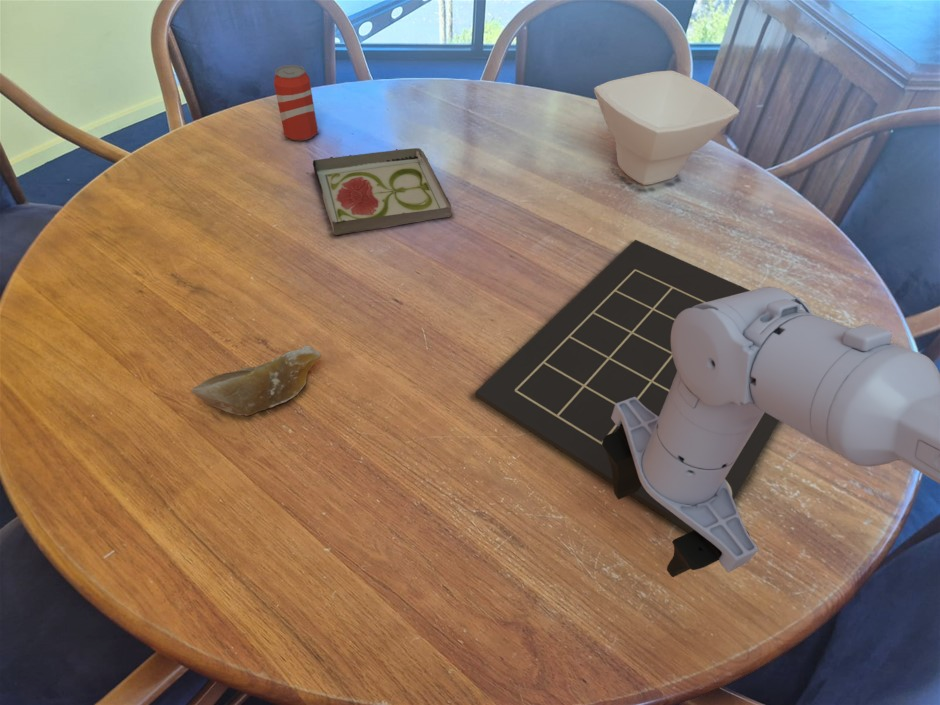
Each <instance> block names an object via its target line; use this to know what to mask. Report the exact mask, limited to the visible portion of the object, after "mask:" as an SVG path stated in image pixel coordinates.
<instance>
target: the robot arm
mask: <svg viewBox="0 0 940 705" xmlns="http://www.w3.org/2000/svg"><path fill="white" fill-rule="evenodd" d="M892 335H893V333H892V331H891V330H889V329H886V328H883V327H880V326H878V325H875V324H873V323H872V324H871V323H866V324H862V325H859V326H856V327H852V328H851V327H849V326H846V325H843V324H841V323H838V322H835V321H832V320H829V319H826V318H824V317H821V316H818V315H816V314H813V312H812V311H811V309H810V308H809V306H808V304H806V303H805V302H804V301H803V300H802V299H801V298H799V297H798V296H796V295H795V294H792V293H790V292H788V291H787V290H784V289H782V288H780V287H776V286H763V287H760V288H756V289H752V290H750V291H748V292H744V293H740V294H736V295H732V296H728V297H725V298H721V299H717V300H713V301H709V302H705V303H702V304H698V305H695V306H693V307H692V308H688V309H685V310H683V311H682V312H681V313H680V314H679V315H678V316H677V317H676V319H675V321H674V323H673V326H672V330H671V351H672V356H673V360H674V363H675V366H676V369H677V373H676V375H675V378H674V380H673V383H672V385H671V388H670V390H669V393H668V395H667V398H666V400H665V403H664V405H663V408H662V410H661V413H660V415H659V417H658V416H657V415H655V414H654V413H652V412H651V411H650V410H648V409H647V408H646V407H645V406H644V405H643V404H641V402H640V401H639V400H638V399H637V398H636V397H633V398H630V399H627V400H624V401H622V402H619V403H616V404H615V407H614V410H613V413H612V416H611V419H612V420H613V421H614V423H615V424H616V425H617V426H620V427H619V429H617V430H616V432H614V433H611V434H608V435H607V436H605V437H604V439H603V442H602V446H603V447H604V449H605V451H606V453H607V455H608V458H609V461H610V464H611V468H612V475H613V485H612V486H613V493H614V496H615V497H616V498H617V500H621V499H624V498H625V497H628V496H630V494H633V493H635V492H637V491H638V490H639V489H640V487H641V486H643V487H644V489H645V490H646V491H647V493H648V494H649V495H650V496H651V497H653V498H654V499H655V500H656V501H657V502H659V503H660V504H661V505H663V506H664V507H665V508H667V509H668V510H669V511H670V512H672V513H673V514H674V515H676V516H677V517H678V518H680V519H681V520H682V521H684V522H685V523H686V524H688V525H689V526H690V527H691V528H693V529H694V531H691V532H689V533H688V532H686V533H685V534H683V535H681V536H679V537H677V538H674V539H673V540H672V545H673V555H672V558H671V559H670V560H669V563H668V564H667V566H666V571H667V573H668V574H669V575H670V577H671V578H675V577H677V576H679V575H681V574H683V573H685V572H687V571H696V570H700V569H703V568H706V567H708V566H710V565H712V564H714V563H716V562H719V563H720V565H721V566H722V567H723V568H724V570H725V571H726V572H727V573H730V572H732V571H734V570H736V569H738V568H740V567H742V566H744V565H746V564H747V563H750V562H751V560H752V559H753V558H754V557H755V555H756V554H757V553H758V552H759V549H760V548H759V547H758V546H757V544H756V543H755V542H754V540H753V538H752V537H751V535H750V533H749V531H748V530H747V528H746V525H745V523H744V522H743V519H742V517H741V514H740V512H739V510H738V507H737V505H736V502H735V499H734V500H733V497H732V495H731V493H730V490H729V488H728V485H727V483H726V480H725V477H726V476H727V474H728V473H729V471H730V469H731V468H732V466H733V464H734V463H735V461H736V459H737V458H738V456H739V454H740V452H741V451H742V449H743V447H744V446H745V444H746V443H747V441H748V439H749V438H750V436H751V434H752V433H753V431H754V429H755V428H756V426H757V424H758V423H759V421H760V419H761V418H762V416H763V414H764V413H767V414H769V415H771V416H772V417H774V418H776V419H778V420H779V422H781V423H783V424H784V425H786V426H788V427H790V428H791V429H793V430H795V431H797V432H798V433H800V434H802V435H803V436H805V437H806V438H808V439H810V440H812V441H814V442H816V443H818V444H819V445H821V446H823V447H824V448H826V449H828V450H829V451H831V452H833V453H835V454H836V455H838V456H840V457H842V458H843V459H845V460H847V461H848V462H850V463H852V464H853V465H856V466H859V467H868V468H870V467H879V466H883V465H887V464H888V465H889V464H891V463H893V462H896V461H901V462H904V463H905V464H907V465H908V466H909V467H911V468H912V469H914V470H917V471H918V472H919V473H921V474H922V475H924V476H926V477H927V478H929V479H931V480H932V481H934V482H936V483H937V484H939V485H940V370H939V369H938V367H937V365H936V364H935V363H934V361H933V360H932V359H931V358H930V357H928V356H927V355H925V354H923V353H921V352H918V351H914V350H912V349H909V348H906V347H904V346H901V345H898V344H896V343H893V342H892Z"/></svg>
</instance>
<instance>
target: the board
mask: <svg viewBox="0 0 940 705" xmlns="http://www.w3.org/2000/svg"><path fill="white" fill-rule="evenodd" d="M748 291H751V290H750V289H748V288H745V287H743V286H741V285H739V284H736V283H734V282H732V281H730V280H727V279H725V278H723V277H722V276H718V275H716V274H714V273H711V272H710V271H707V270H705V269H703V268H700V267H699V266H696V265H693V264H691V263H690V262H687V261H685V260H683V259H680V258H678V257H676V256H673V255H671V254H669V253H667V252H664V251H662V250H660V249H658V248H656V247H653V246H651V245H648V244H646V243H644V242H642V241H639V240H638V239H634V240H633V241H632V242H631V243H630V244H629V245H628V246H627V247H626V248H625V249H624V250H622V252H620V254H619V255H618V256H616V258H615V259H613V260H612V261H611V262H610V263H609V264H608V265H607V266H606V267H605V268H604V269H603V270H602V271H600V273H599V274H597V275H596V276H595V277H594V278H593V279H592V280H591V281H590V282H589V283H588V284H587V285H586V286H585V287H584V288H583V289H582V290H581V291H580V292H579V293H577V295H575V296H574V297H573V298H572V299H571V301H569V302H568V303H567V304H566V305H565V306H564V307H563V308H562V309H561V310H560V311H559V312H558V313H557V314H556V315H555V316H553V318H551V319H550V320H549V321H548V322H547V323H546V324H545V325H544V326H543V327H542V328H541V329H540V330H538V332H537V333H536V334H535V335H534V336H532V338H530V339H529V340H528V341H527V342H526V343H525V344H524V345H523V346H522V347H521V348H520V349H519V350H518V351H517V352H515V353H514V355H513V356H511V357H510V359H508V360H507V361H506V362H505V363H504V364H503V365H502V366H501V367H500V368H499V369H498V370H497V371H496V372H495V373H494V374H493V375H492V376H491V377H490V378H488V379H487V380H486V381H485V382H484V383H483V384H482V385H480V387H479V388H478V389H476V391H475V398H476V399H478V400H480V401H481V402H483V403H484V404H486V405H487V406H488V407H490V408H492V409H493V410H495V411H497V412H498V413H500V414H501V415H503V416H504V417H506V418H508V419H509V420H511V421H512V422H513V423H516V424H517V425H518V426H520V427H522V428H523V429H525V430H527V431H528V432H530V433H531V434H533V435H534V436H536V437H537V438H539V439H540V440H542V441H543V442H545V443H546V444H548V445H550V446H551V447H553V448H554V449H556V450H558V451H559V452H561V453H562V454H564V455H565V456H567V457H569V458H570V459H571V460H573V461H575V462H577V463H578V464H579V465H581V466H583V467H585V468H586V469H587V470H589V471H590V472H592V473H594V474H595V475H597V476H598V477H600V478H601V479H603V480H604V481H606V482H608V483H609V484H610V485H612V486H613V475H612V468H611V464H610V461H609V458H608V455H607V453H606V451H605V449H604V447H603V446H602V442H603V439H604V437H605V436H607V435H608V434H611V433H614V432H616V430H617V429H619V427H620V426H617V425H616V424H615V423H614V421H613V420H612V419H611V416H612V413H613V410H614V407H615V404H616V403H619V402H622V401H624V400H627V399H630V398H633V397H636V398H637V399H638V400H639V401H640V402H641V404H643V405H644V406H645V407H646V408H647V409H648V410H650V411H651V412H652V413H654V414H655V415H657V416H658V417H659V415H660V413H661V410H662V408H663V405H664V403H665V400H666V398H667V395H668V393H669V390H670V388H671V385H672V383H673V380H674V378H675V375H676V373H677V369H676V366H675V363H674V360H673V356H672V351H671V330H672V326H673V323H674V321H675V319H676V317H677V316H678V315H679V314H680V313H681V312H682V311H683V310H685V309H688V308H692V307H693V306H695V305H698V304H702V303H705V302H709V301H713V300H717V299H721V298H725V297H728V296H732V295H736V294H740V293H744V292H748ZM779 422H780V421H779V420H778V419H776V418H774V417H772V416H771V415H769V414H767V413H764V414H763V416H762V418H761V419H760V421H759V423H758V424H757V426H756V428H755V429H754V431H753V433H752V434H751V436H750V438H749V439H748V441H747V443H746V444H745V446H744V447H743V449H742V451H741V452H740V454H739V456H738V458H737V459H736V461H735V463H734V464H733V466H732V468H731V469H730V471H729V473H728V474H727V476H726V477H725V480H726V481H727V482H728V483H729V485H730V487H731V490H732V497H733V500H734V501H735V499H736V497H737V495H738V494H739V492H740V490H741V488H742V486H743V484H744V483H745V481H746V479H747V478H748V476H749V474H750V473H751V471H752V469H753V467H754V465H755V464H756V462H757V460H758V459H759V457H760V455H761V453H762V451H763V450H764V448H765V446H767V443H768V441H769V439H770V438H771V436H772V434H773V432H774V430H775V429H776V427H777V426H778V424H779ZM629 496H630V497H631V498H633V499H634V500H636V501H637V502H639V503H640V504H642V505H644V506H645V507H647V508H649V509H650V510H651V511H653V512H654V513H656V514H658V515H659V516H660V517H663V518H664V519H665V520H667V521H668V522H670V523H672V524H673V525H675V526H677V527H678V528H680V529H681V530H683V531H684V532H686V533H689V532H691V531H694V529H693V528H691V527H690V526H689V525H688V524H686V523H685V522H684V521H682V520H681V519H680V518H678V517H677V516H676V515H674V514H673V513H672V512H670V511H669V510H668V509H667V508H665V507H664V506H663V505H661V504H660V503H659V502H657V501H656V500H655V499H654V498H653V497H651V496H650V495H649V494H648V493H647V491H646V490H645V489H644V487H643V486H641V487H640V489H639V490H638V491H637V492H635V493H633V494H630V495H629Z"/></svg>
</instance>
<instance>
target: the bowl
mask: <svg viewBox="0 0 940 705" xmlns="http://www.w3.org/2000/svg"><path fill="white" fill-rule="evenodd" d="M593 93H594V95H595V97H596V100H597V103H598V106H599V109H600V111H601V114H602V116H603V117H602V118H603V119H604V122H605V124H606V127H607V130H608V132H609V133H610V134H611V135H612V137H613V138H614V141H615V151H616V161H617V165H618V167H619V168H620V170H621V171H622V172H623V173H624V174H626V175H627V176H628V177H629V178H631V179H632V180H634V181H635V182H637V183H639V184H641V185H644V186H646V185H653V184H654V185H655V184H657V183H661V182H664V181H667V180H671V179H673V178H675V177H676V176H677V175H679V173H680V171H682V168H683V167H684V166H685V164H686V163H687V161H688V160H689V158H690V157H691V155H692V154H693V153H694V152H696V151H697V150H700V149H701V148H703V147H704V146H706V145H707V144H708V143H709V142H710V141H711V140H712V139H713V138H714V137H715V136H716V135H718V134H719V133H720V132H721V131H722V130H723V129H724V128H725V127H726V126H727V125H728V124H730V123H731V121H733V120H734V119H735V118H736V117H737V116H739V114H740V110H739V108H738V107H736V106H735V105H734V104H733V103H732V102H731V101H730V100H728V99H727V98H726V97H725V96H723V95H722V94H720V93H719V92H717V91H715V90H714V89H712V88H711V87H709V86H707V85H706V84H704V83H701V82H700V81H698V80H695V79H693V78H692V77H690V76H688V75H685V74H682V73H679V72H677V71H675V70H659V71H651V72H646V73H640V74H635V75H630V76H626V77H622V78H617V79H613V80H609V81H607V82H604V83H601V84H599V85H597V86H595V87H594V88H593Z"/></svg>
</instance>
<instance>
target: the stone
mask: <svg viewBox="0 0 940 705" xmlns="http://www.w3.org/2000/svg"><path fill="white" fill-rule="evenodd" d="M321 357H322V353H321V352H320V351H318V350H316V349H315V348H313V347H312V346H310V345H304V346H303V347H301V348H298V349H294V350H291V351H288V352H285V353H284V354H283V355H280V356H278V357H276V358H274V359H272V360H271V361H268V362H266V363H263V364H259V365H257V366H248V367H245V368H241V369H239V370H235V371H231V372H225V373H221V374H217V375H215V376H212V377H210V378H208V379H205V380H204V381H203V382H201V383H200V384H199V385H196V386H195V387H193V388H192V389H191V390H190V392H191V394H193V395H194V396H196V398H198V399H199V400H201V401H202V402H204V403H205V404H207V405H208V406H210V407H212V408H213V407H214V408H216V409H219V410H221V411H223V412H226V413H230V414H232V415H236V416H245V417H246V416H252V415H253V414H256V413H258V412H261V411H264V410H267V409H270V408H274V407H276V406H278V405H281V404H283V403H286V402H288V401H289V400H292V399H293V398H295V397H296V396H297V395H298V394H299V393H300V392H301V391H302V389H303V388H304V387H305V386H306V385H307V376H308V373H309V372H310V371H311V369H312V367H313V366H314V365H315V364H316V363H317V362H318V361H319V360H320V358H321Z"/></svg>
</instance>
